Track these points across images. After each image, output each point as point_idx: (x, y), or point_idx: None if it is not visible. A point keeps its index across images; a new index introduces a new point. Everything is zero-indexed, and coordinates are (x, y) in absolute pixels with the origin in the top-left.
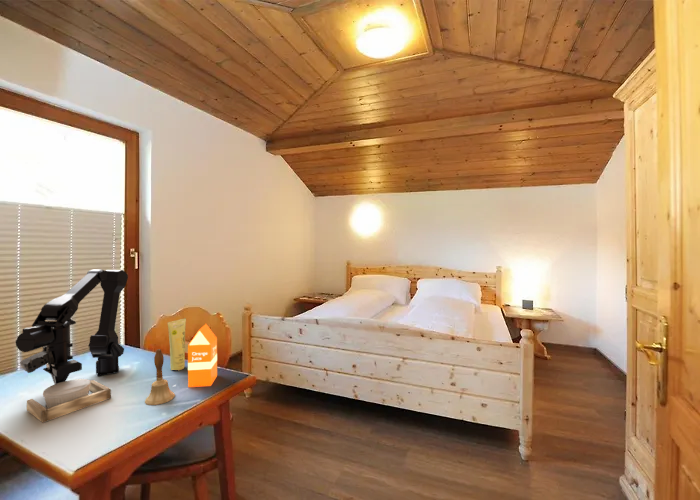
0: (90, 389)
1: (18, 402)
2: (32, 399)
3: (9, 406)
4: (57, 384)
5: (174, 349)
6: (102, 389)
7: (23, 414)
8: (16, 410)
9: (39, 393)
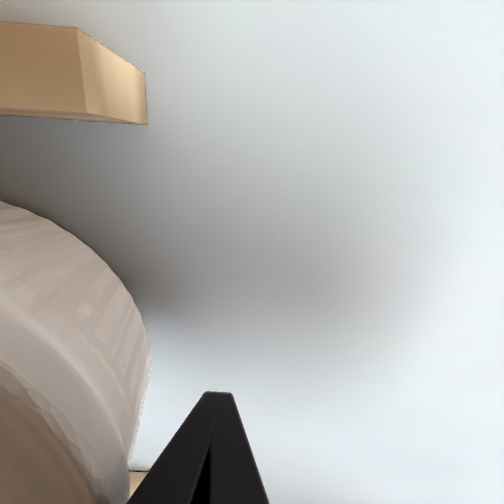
0: (135, 484)
1: (478, 109)
2: (43, 100)
3: (466, 4)
4: (30, 475)
5: None
6: None
7: (50, 5)
8: (253, 5)
9: (492, 297)
